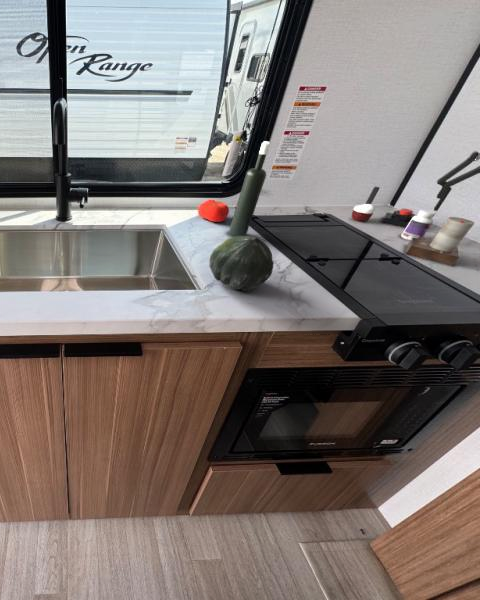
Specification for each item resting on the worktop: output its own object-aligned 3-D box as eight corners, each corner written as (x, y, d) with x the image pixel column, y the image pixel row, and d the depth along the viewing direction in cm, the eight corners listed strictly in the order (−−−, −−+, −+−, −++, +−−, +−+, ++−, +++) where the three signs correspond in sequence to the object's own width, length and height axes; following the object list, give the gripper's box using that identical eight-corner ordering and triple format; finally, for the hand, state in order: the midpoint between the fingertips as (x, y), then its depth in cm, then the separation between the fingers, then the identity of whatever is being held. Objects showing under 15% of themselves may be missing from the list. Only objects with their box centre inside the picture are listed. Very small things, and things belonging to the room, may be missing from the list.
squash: (231, 244, 95) (227, 216, 82) (283, 264, 86) (288, 237, 74) (203, 283, 94) (195, 261, 82) (253, 308, 86) (253, 287, 74)
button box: (416, 224, 125) (422, 214, 123) (415, 230, 120) (422, 219, 118) (383, 217, 130) (389, 207, 128) (381, 222, 126) (387, 212, 123)
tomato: (213, 226, 120) (218, 209, 116) (192, 216, 128) (195, 200, 124) (231, 221, 124) (236, 204, 120) (209, 212, 132) (213, 196, 128)
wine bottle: (249, 236, 113) (281, 142, 95) (236, 238, 111) (266, 143, 94) (237, 230, 117) (266, 139, 100) (224, 232, 115) (252, 140, 98)
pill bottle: (421, 242, 111) (440, 215, 105) (402, 239, 113) (419, 212, 108) (418, 237, 115) (436, 210, 109) (399, 233, 117) (416, 207, 111)
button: (410, 214, 123) (413, 210, 122) (410, 217, 121) (413, 212, 120) (398, 212, 125) (401, 207, 124) (398, 214, 123) (400, 210, 122)
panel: (455, 256, 103) (462, 247, 101) (456, 267, 97) (463, 257, 95) (407, 244, 109) (413, 236, 108) (405, 254, 103) (411, 245, 102)
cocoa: (359, 224, 124) (376, 193, 117) (343, 218, 128) (358, 188, 122) (375, 221, 127) (392, 190, 120) (358, 216, 131) (375, 186, 125)
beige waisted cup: (429, 242, 104) (449, 214, 99) (453, 247, 101) (474, 219, 96) (429, 247, 101) (449, 219, 95) (453, 253, 98) (475, 224, 92)
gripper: (457, 131, 87) (410, 208, 99) (608, 142, 73) (533, 230, 85) (456, 128, 92) (411, 202, 104) (598, 138, 78) (528, 222, 90)
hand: (466, 215), depth 95 cm, fingers open, 13 cm apart
